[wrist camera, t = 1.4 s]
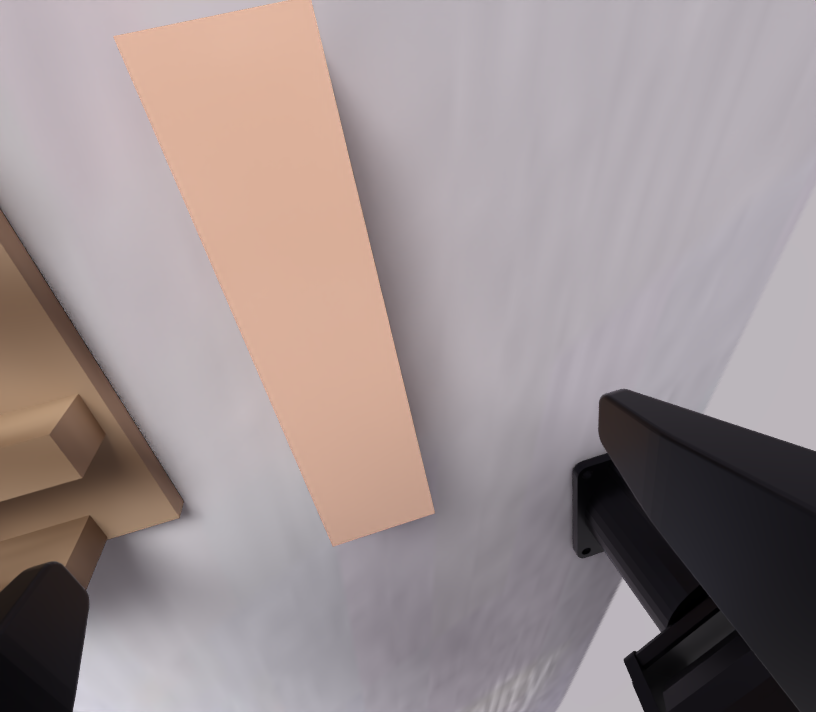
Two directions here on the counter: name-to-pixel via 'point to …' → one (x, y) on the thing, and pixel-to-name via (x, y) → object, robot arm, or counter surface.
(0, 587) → the rack
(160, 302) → the counter surface
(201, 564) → the counter surface
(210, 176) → the long rectangular block
